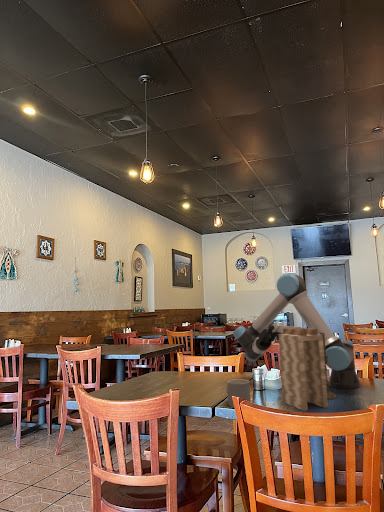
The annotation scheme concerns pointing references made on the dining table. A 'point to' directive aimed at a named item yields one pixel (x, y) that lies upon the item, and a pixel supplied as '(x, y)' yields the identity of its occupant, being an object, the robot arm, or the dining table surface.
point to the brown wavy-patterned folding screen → (302, 368)
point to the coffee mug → (238, 389)
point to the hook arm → (280, 328)
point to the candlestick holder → (329, 394)
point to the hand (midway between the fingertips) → (281, 323)
